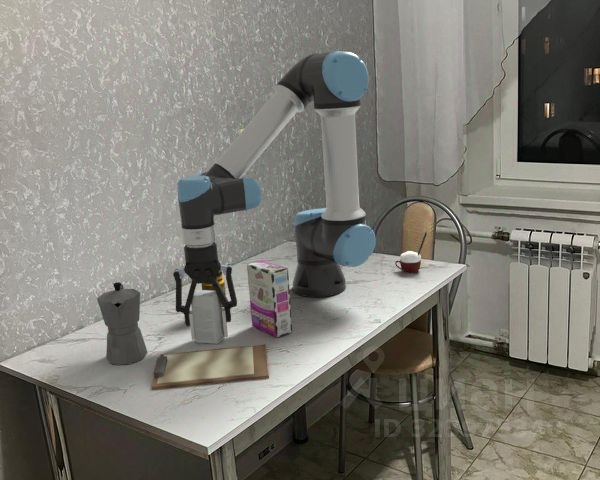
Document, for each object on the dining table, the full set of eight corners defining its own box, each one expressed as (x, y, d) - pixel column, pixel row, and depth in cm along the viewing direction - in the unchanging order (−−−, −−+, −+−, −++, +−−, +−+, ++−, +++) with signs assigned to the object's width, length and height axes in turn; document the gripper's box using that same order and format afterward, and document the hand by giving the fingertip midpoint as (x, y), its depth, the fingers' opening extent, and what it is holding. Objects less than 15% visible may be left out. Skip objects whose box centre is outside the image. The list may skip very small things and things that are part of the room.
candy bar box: (293, 332, 159) (289, 268, 155) (277, 338, 156) (271, 272, 152) (267, 320, 168) (262, 259, 163) (251, 326, 165) (245, 263, 160)
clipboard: (265, 346, 152) (265, 339, 151) (268, 377, 136) (268, 370, 136) (160, 356, 150) (159, 349, 150) (152, 389, 135) (150, 381, 134)
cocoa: (394, 273, 199) (390, 235, 196) (402, 267, 204) (399, 230, 201) (423, 276, 194) (420, 237, 190) (431, 269, 198) (428, 231, 195)
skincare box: (225, 337, 159) (220, 290, 156) (217, 344, 155) (212, 296, 152) (203, 335, 161) (197, 289, 158) (194, 342, 157) (189, 295, 154)
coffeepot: (148, 365, 146) (138, 288, 142) (104, 372, 144) (92, 294, 140) (147, 339, 161) (138, 269, 156) (108, 345, 159) (97, 274, 154)
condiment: (233, 314, 173) (229, 271, 170) (204, 323, 169) (199, 278, 166) (221, 307, 179) (216, 265, 176) (192, 315, 175) (187, 272, 172)
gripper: (154, 251, 147) (166, 346, 153) (243, 244, 149) (251, 338, 155) (158, 243, 154) (169, 334, 160) (243, 236, 156) (251, 326, 162)
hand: (209, 335), depth 157 cm, fingers closed on skincare box, 7 cm apart
